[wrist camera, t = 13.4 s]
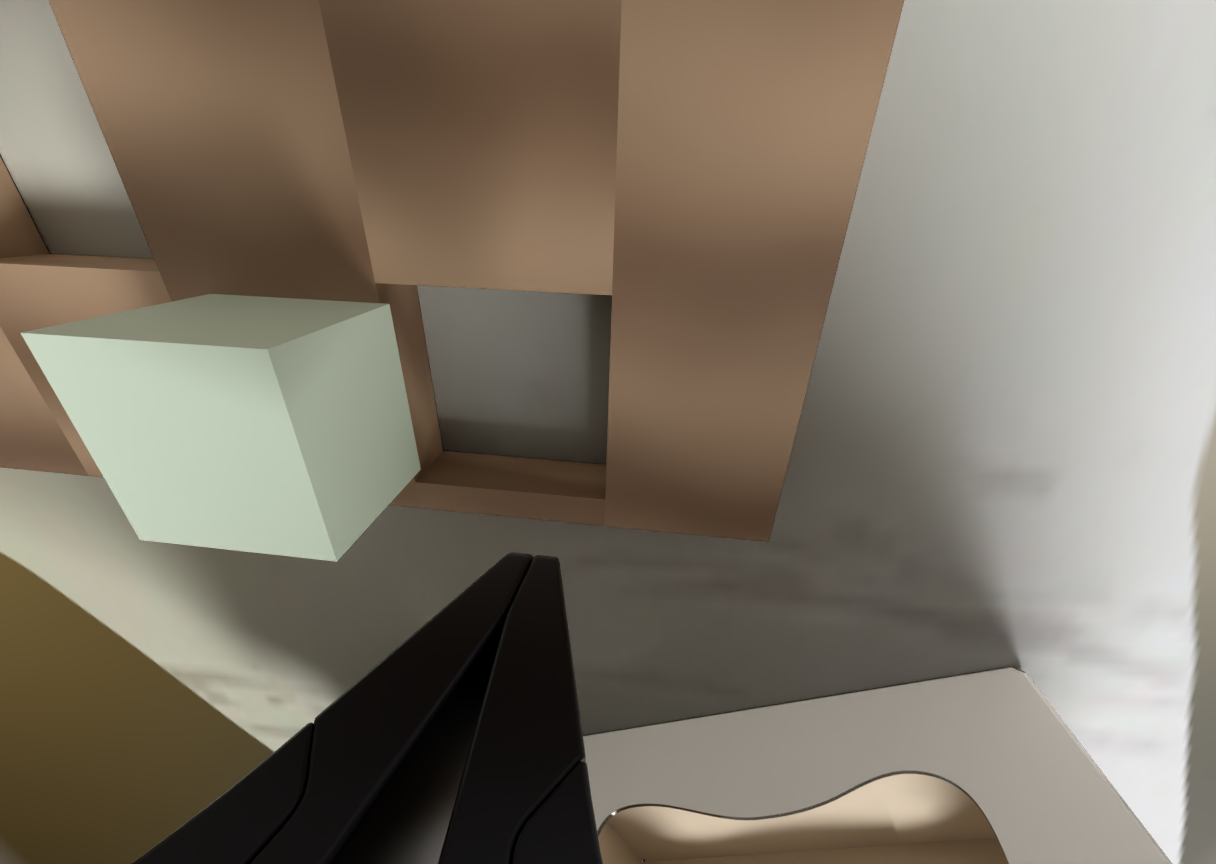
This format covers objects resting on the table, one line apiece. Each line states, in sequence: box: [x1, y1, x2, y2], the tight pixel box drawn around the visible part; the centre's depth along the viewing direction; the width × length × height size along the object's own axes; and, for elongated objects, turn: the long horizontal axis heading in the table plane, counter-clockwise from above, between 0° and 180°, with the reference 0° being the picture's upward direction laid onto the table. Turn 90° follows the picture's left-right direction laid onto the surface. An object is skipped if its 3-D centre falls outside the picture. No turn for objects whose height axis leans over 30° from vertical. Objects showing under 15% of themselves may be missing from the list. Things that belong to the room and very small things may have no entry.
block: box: [21, 294, 421, 562], centre depth 11 cm, size 5×5×4 cm
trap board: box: [0, 0, 904, 542], centre depth 12 cm, size 14×32×3 cm, turn 88°
